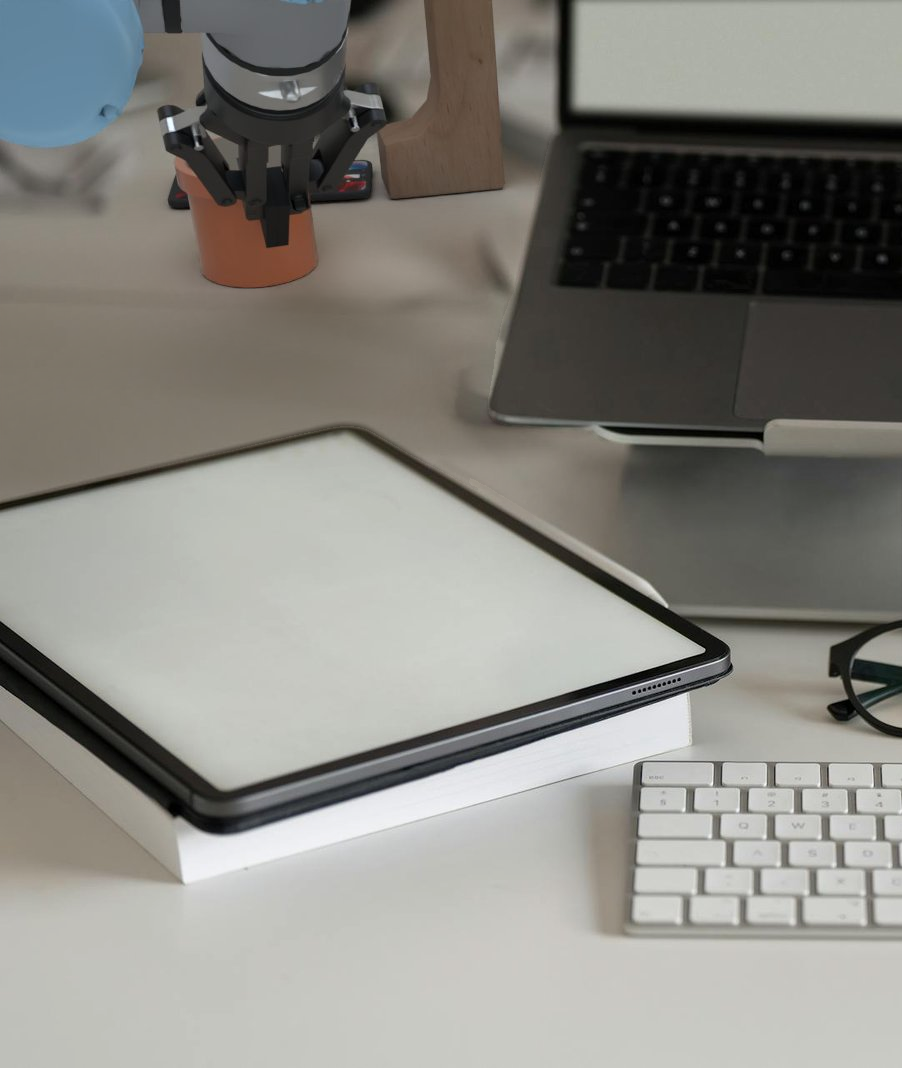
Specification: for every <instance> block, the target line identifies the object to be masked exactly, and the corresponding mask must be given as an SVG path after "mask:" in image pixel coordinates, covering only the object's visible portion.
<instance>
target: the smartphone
mask: <svg viewBox="0 0 902 1068" xmlns="http://www.w3.org/2000/svg"><path fill="white" fill-rule="evenodd" d="M372 183H373V163H372V161H370V160H367V159H355V160H354V162H353V163H352V165H351V167H350V168H349V170H348V171H347V173H346V175H345V176H344V178H343V179H342V181H341V183H340V184H339V186H338V187H337V189H336V190H335V191H333V192H331V193H320V192H319V191H318V189H317V188H316V189H313V190H311V191H309V195H310V202H323V201H344V200H361V199H366V198H369V196H371V194H372ZM167 203H168V205H169V207H172V208H177V209H179V208H180V209H181V208H182V209H183V208H190V205H189V200H188V194H187V193H186V192H184V191H183V190H182V189H181V188H180V187H179V185H178V182H177V177H176V174H175V175H174V177H173V181H172V184H171V187H170V190H169V192H168V195H167Z"/></svg>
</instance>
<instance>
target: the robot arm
mask: <svg viewBox="0 0 902 1068" xmlns="http://www.w3.org/2000/svg"><path fill="white" fill-rule="evenodd" d="M351 3H352V0H0V140H2V141H5V142H8V143H11V144H13V145H18V146H24V147H30V148H39V149H44V148H46V149H49V148H50V149H52V148H61V147H68V146H71V145H75V144H78V143H81V142H84V141H86V140H88V139H91V138H93V137H94V136H96V135H98V134H99V133H100V132H103V131H104V129H106V128H107V127H109V126H110V125H111V124H113V122H115V121H116V119H117V118H119V117H121V115H122V113H123V111H124V109H125V108H126V106H127V104H128V102H129V100H130V98H131V95H132V93H133V90H134V87H135V85H136V80H137V76H138V72H139V70H140V67H142V64H143V60H144V51H145V47H146V44H145V38H144V34H169V35H170V34H171V35H172V34H175V35H176V34H200V48H201V64H202V76H203V78H202V79H203V88H202V89H201V90H200V91H199V92H198V93H197V95H196V97H195V106H194V107H192V108H187V109H186V110H185V109H183V108H181V107H179V106H177V105H173V104H165V105H162V106H160V107H158V108H157V109H156V113H157V118H158V122H159V128H160V132H161V136H162V141H163V145H164V150H165V152H167V153H169V154H171V155H173V156H175V157H176V156H177V157H179V158H181V159H183V160H185V161H186V162H187V163H188V165H189V166H190V167H191V169H192V170H193V172H194V173H195V174H196V176H197V177H198V178H199V180H200V181H201V183H202V184H203V185H204V187H205V188H206V189H207V191H208V192H209V194H210V195H211V196H212V198H213V199H214V200H215V202H216V203H217V204H218V205H219V206H223V207H228V206H231V205H234V204H235V203H236V202H237V199H238V200H242V203H243V208H244V212H245V216H246V219H247V220H249V221H253V220H260V222H261V227H262V231H263V235H264V240H265V244H266V248H271V247H279V246H286V245H289V219H290V215H294V214H302V213H303V212H304V211H306V210H308V209H310V207H311V208H312V205H311V206H310V202H311V201H310V202H309V198H308V192H309V191H311V190H313V189H316V188H317V189H318V191H319V192H320V193H331V192H333V191H335V190H336V189H337V187H338V186H339V184H340V183H341V181H342V179H343V178H344V176H345V175H346V173H347V171H348V170H349V168H350V167H351V165H352V163H353V162H354V160H357V157H358V155H359V154H360V152H361V150H362V149H363V148H364V146H365V144H366V143H367V141H368V139H369V138H371V137H373V136H374V135H375V134H377V132H378V131H379V130H380V129H382V128H383V127H384V126H386V125H387V124H388V121H387V118H386V113H385V109H384V107H383V106H384V105H383V101H382V98H381V97H382V96H381V93H380V89H379V85H378V84H377V83H374V82H365V83H363V84H360V85H359V86H358V87H356V88H355V89H354V90H350V89H348V85H347V83H346V81H345V80H346V79H345V78H346V70H347V69H346V67H347V63H346V62H347V51H348V37H349V22H350V15H351V12H350V11H351ZM208 132H210V133H212V134H215V135H216V136H218V137H223V138H225V139H227V140H229V141H231V142H233V143H235V144H238V156H239V158H237V163H238V167H239V170H230V168H229V164H228V163H227V161H226V160H225V158H224V157H223V155H222V154H221V152H220V151H219V149H218V148H217V146H216V145H215V143H214V142H213V141H212V137H211V136H210V135H209V133H208ZM319 134H320V136H319V138H318V140H317V141H316V143H315V145H314V142H315V137H317V136H318V135H319ZM275 145H281V166H277V167H269V168H267V163H268V162H269V147H271V146H275ZM281 167H282V169H281Z"/></svg>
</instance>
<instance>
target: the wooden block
mask: <svg viewBox="0 0 902 1068" xmlns="http://www.w3.org/2000/svg"><path fill="white" fill-rule="evenodd" d="M423 6H424V19H425V29H426V41H427V52H428V62H429V72H430V73H429V74H430V78H429V83H428V90H427V95H426V99H425V101H424V102H423V103H422V104H421V105H420V107H419V108H418V109H417V111H415V112H414V114H413V115H412V116H411V117H409V118H406V119H402V120H398V121H393V122H391V123H387V125H386V126H384V127H383V128H382V129H380V130H379V131H378V132H376V137H377V145H378V155H379V164H380V174H381V179H382V181H383V184H384V187H385V189H386V192H387V194H388V196H389V198H390V199H393V200H398V199H399V200H400V199H407V198H408V199H409V198H418V197H428V196H437V195H448V194H449V195H450V194H457V193H469V192H478V191H489V190H490V191H491V190H499V189H503V188H504V186H505V184H506V182H505V170H504V169H505V168H504V167H505V166H504V155H503V140H502V139H503V138H502V126H501V112H500V111H501V110H500V98H499V97H500V96H499V79H498V68H497V67H498V66H497V53H496V52H497V51H496V38H495V26H494V25H495V24H494V8H493V0H423Z"/></svg>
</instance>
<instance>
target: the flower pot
mask: <svg viewBox="0 0 902 1068" xmlns="http://www.w3.org/2000/svg"><path fill="white" fill-rule="evenodd" d="M211 139H212V141H213V142H214V143H215V145H216V146H217V148H218V149H219V151H220V152H221V154H222V155H223V157H224V158H225V160H226V161H227V163H228V164H229V168H230V170H239V167H238V163H237V158H239V156H238V144H235V143H233V142H231V141H229V140H227V139H225V138H223V137H221V136H217V137H216V136H215V137H211ZM173 159H174V160H173V166H174V170H175V175H176V177H177V182H178V185H179V187H180V188H181V189H182V190H183V191H184V192H186V193H187V194H188V200H189V205H190V207H189V211H190V215H191V221H192V228H193V232H194V238H195V245H196V250H197V255H198V262H199V266H200V267H199V268H200V272H201V274H202V275H203V276H204V278H206V279H207V280H209V281H210V282H213V283H215V284H218V285H221V286H226V287H232V288H243V289H245V288H248V289H249V288H263V287H264V288H265V287H271V286H272V287H274V286H277V285H282V284H286V283H290V282H293V281H296V280H298V279H300V278H302V277H305V276H306V275H309V273H311V272H312V271H313V270H315V268H316V267H317V265H318V264H319V255H318V254H319V253H318V248H317V239H316V233H315V232H316V231H315V225H314V219H313V218H314V217H313V211H312V210H313V209H312V205H311V204H312V201H310V195H309V192H308V198H309V202H310V206H311V207H310V209H308V210H306V211H304V212H303V213H302V214H294V215H290V219H289V245H286V246H279V247H271V248H266V244H265V240H264V235H263V231H262V227H261V222H260V220H253V221H249V220H247V219H246V216H245V212H244V208H243V203H242V200H238V199H237V202H236V203H235V204H234V205H231V206H228V207H223V206H219V205H218V204H217V203H216V202H215V200H214V199H213V198H212V196H211V195H210V194H209V192H208V191H207V189H206V188H205V187H204V185H203V184H202V183H201V181H200V180H199V178H198V177H197V176H196V174H195V173H194V172H193V170H192V169H191V167H190V166H189V165H188V163H187V162H186V161H185V160H183V159H181V158H179V157H177V156H175V157H174V158H173ZM277 166H281V145H275V146H271V147H269V162H268V163H267V168H269V167H277ZM281 169H282V167H281Z"/></svg>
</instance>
